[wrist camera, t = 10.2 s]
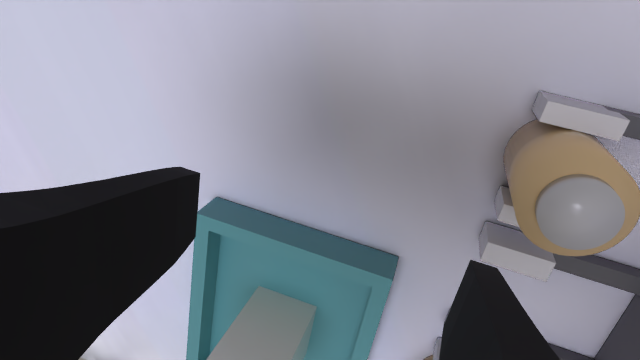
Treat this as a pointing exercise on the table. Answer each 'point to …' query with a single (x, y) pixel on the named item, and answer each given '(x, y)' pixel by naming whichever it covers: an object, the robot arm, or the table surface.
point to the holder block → (528, 259)
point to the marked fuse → (268, 329)
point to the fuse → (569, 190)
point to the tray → (284, 279)
